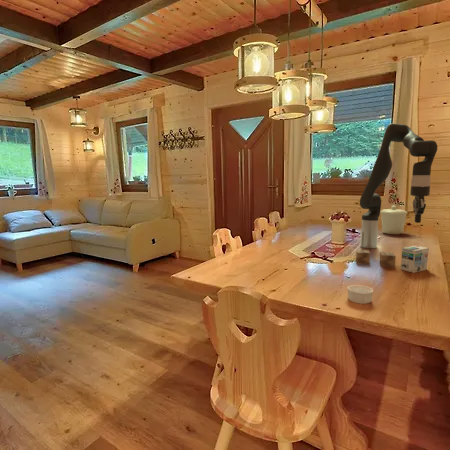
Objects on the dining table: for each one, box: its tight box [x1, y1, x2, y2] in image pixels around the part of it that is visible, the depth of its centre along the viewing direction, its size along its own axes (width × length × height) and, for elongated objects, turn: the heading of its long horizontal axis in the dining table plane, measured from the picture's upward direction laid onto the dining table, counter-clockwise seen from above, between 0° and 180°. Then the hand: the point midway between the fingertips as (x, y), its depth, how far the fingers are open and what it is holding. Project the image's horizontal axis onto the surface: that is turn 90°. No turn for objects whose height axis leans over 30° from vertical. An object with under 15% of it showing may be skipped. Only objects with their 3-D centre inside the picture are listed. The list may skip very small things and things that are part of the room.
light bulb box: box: [400, 244, 429, 274], centre depth 149 cm, size 11×7×11 cm, turn 117°
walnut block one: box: [379, 252, 396, 269], centre depth 157 cm, size 6×6×6 cm
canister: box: [380, 205, 409, 235], centre depth 234 cm, size 18×18×21 cm
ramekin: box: [347, 284, 374, 305], centre depth 116 cm, size 9×9×4 cm
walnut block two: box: [355, 249, 371, 265], centre depth 163 cm, size 6×6×6 cm
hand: (417, 222), depth 146 cm, fingers closed
